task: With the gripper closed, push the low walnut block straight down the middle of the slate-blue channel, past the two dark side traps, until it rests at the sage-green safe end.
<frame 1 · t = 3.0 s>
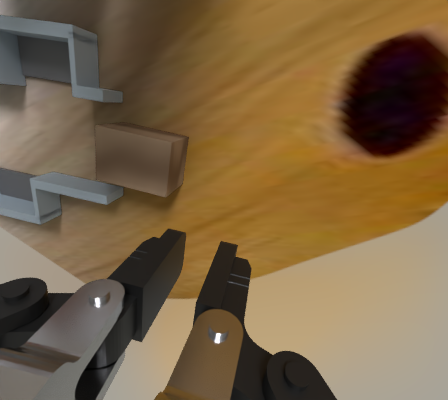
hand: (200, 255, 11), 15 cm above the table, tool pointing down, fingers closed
trap channel: (32, 129, 27), on the table
walnut block: (154, 153, 26), on the table
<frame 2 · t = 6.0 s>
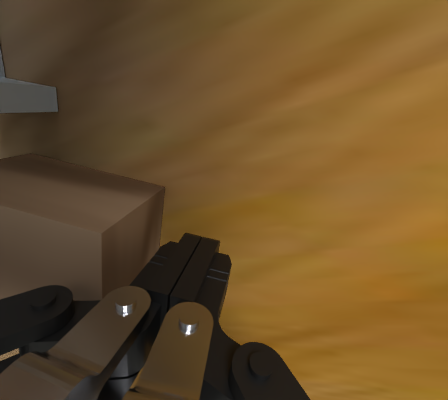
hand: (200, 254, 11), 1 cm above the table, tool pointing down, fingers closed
walnut block: (96, 215, 13), on the table, touching gripper
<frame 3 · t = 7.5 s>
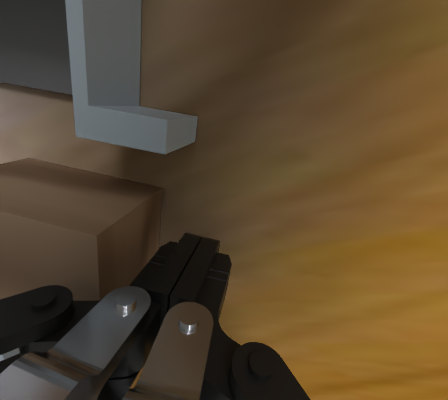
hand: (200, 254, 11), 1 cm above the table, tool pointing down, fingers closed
walnut block: (95, 219, 12), on the table, touching gripper
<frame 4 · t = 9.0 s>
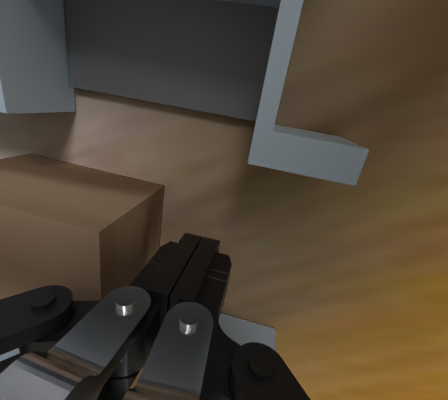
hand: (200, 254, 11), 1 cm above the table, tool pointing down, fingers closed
trap channel: (81, 204, 12), on the table
walnut block: (96, 215, 12), on the table, touching gripper
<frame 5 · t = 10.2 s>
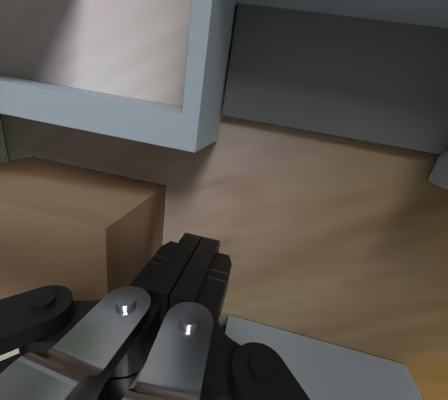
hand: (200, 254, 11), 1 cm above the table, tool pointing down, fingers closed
trap channel: (203, 234, 12), on the table
walnut block: (100, 216, 13), on the table
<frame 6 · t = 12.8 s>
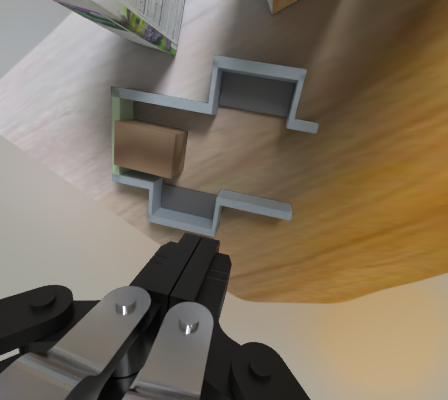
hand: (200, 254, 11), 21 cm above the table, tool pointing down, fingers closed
syrup box: (158, 19, 26), on the table
trap channel: (211, 151, 30), on the table
walnut block: (160, 144, 31), on the table
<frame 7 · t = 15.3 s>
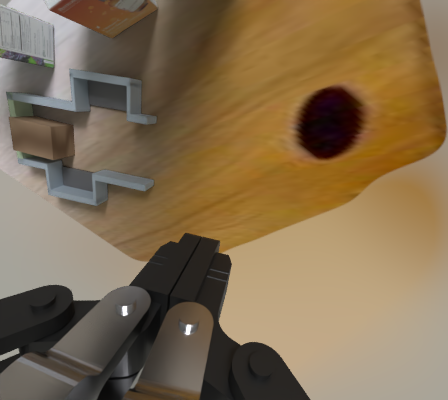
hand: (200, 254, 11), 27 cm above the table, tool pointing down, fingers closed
syrup box: (39, 41, 36), on the table
trap channel: (91, 140, 40), on the table
small box: (126, 2, 32), on the table
walnut block: (56, 135, 41), on the table
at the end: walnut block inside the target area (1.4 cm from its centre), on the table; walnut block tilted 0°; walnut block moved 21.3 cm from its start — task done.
